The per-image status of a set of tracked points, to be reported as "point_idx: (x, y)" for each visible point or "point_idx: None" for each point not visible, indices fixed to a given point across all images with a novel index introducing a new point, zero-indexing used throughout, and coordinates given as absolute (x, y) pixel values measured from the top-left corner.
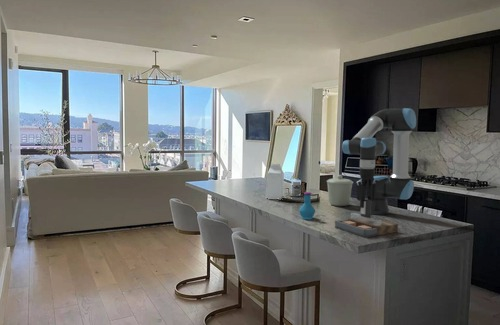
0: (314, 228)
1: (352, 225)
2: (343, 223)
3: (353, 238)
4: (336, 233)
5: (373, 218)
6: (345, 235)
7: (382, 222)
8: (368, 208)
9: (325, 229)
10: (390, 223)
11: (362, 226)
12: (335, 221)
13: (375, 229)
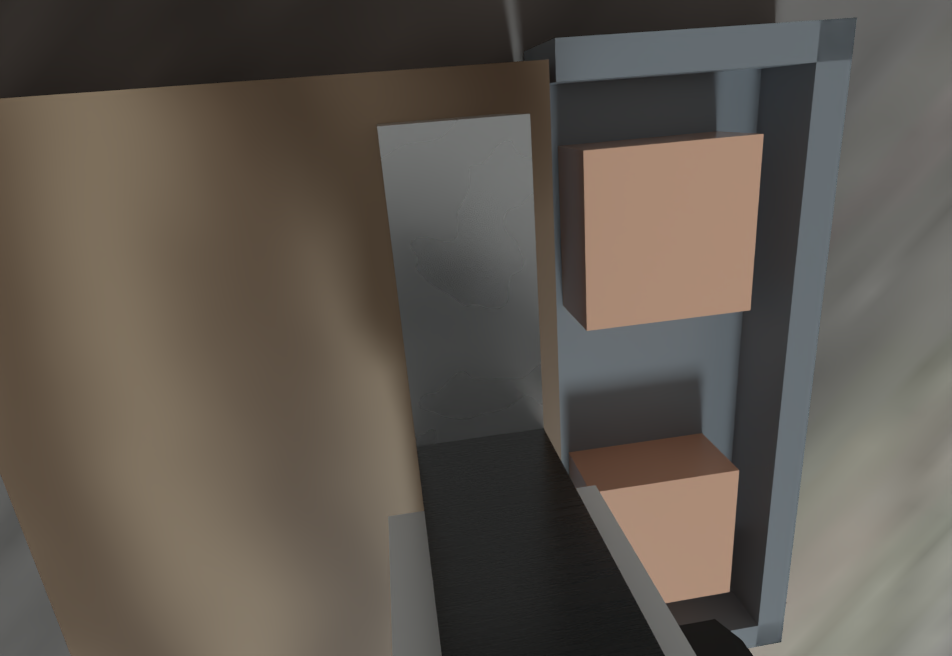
0: (949, 593)
1: (653, 463)
2: (792, 507)
3: (939, 66)
4: (921, 353)
5: (461, 309)
6: (905, 237)
7: (152, 343)
8: (537, 571)
9: (885, 534)
10: (21, 219)
11: (680, 268)
12: (778, 633)
13: (592, 37)
